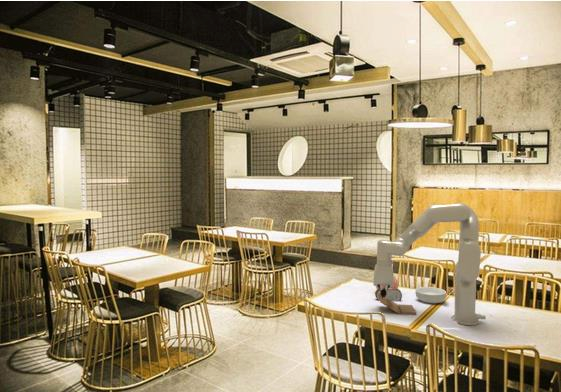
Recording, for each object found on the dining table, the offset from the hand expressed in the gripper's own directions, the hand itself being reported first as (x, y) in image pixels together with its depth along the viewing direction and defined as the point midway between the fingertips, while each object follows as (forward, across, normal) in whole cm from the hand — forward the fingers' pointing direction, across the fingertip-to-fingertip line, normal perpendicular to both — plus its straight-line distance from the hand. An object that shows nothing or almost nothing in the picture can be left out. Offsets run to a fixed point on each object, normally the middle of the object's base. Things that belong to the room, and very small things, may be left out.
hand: (383, 296), depth 216 cm
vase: (+8, -6, -34) cm, 36 cm away
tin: (+8, -5, -18) cm, 20 cm away
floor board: (+8, -6, 0) cm, 10 cm away
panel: (+4, -3, 0) cm, 5 cm away
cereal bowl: (+8, -29, -20) cm, 37 cm away
